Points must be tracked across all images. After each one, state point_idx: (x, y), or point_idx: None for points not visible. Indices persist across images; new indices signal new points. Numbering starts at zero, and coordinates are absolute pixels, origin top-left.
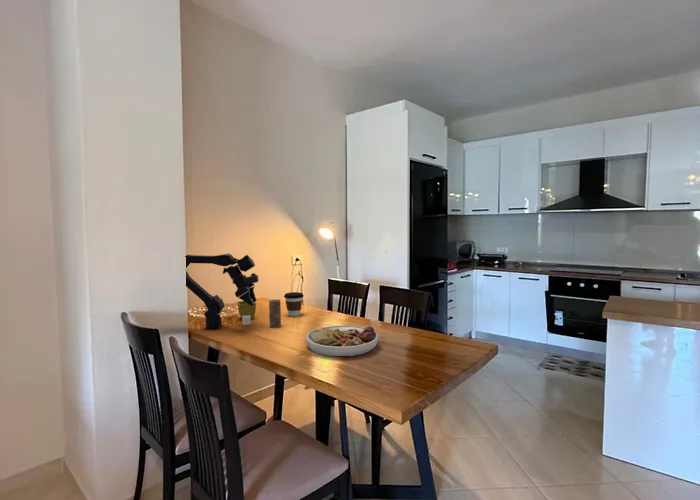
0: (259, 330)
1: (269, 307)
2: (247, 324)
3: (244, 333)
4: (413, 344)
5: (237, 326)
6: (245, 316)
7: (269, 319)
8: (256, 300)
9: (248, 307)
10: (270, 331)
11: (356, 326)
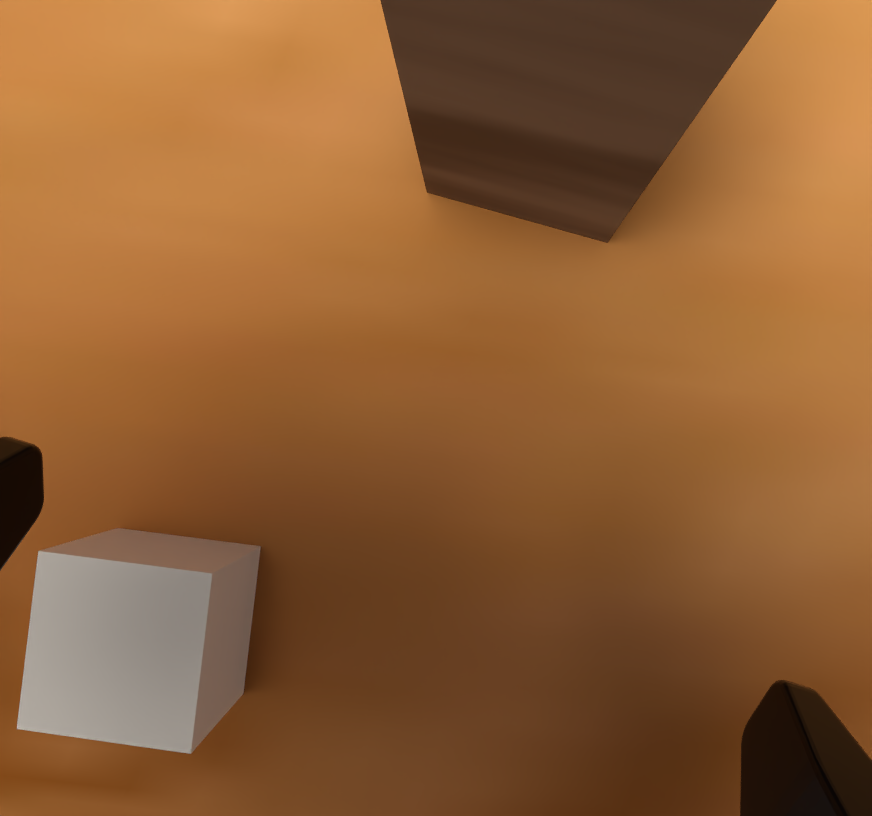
0: (718, 444)
1: (726, 67)
2: (251, 606)
3: None
4: None
5: (286, 790)
6: (102, 672)
7: (635, 198)
8: (11, 440)
9: None
10: (863, 265)
11: None
